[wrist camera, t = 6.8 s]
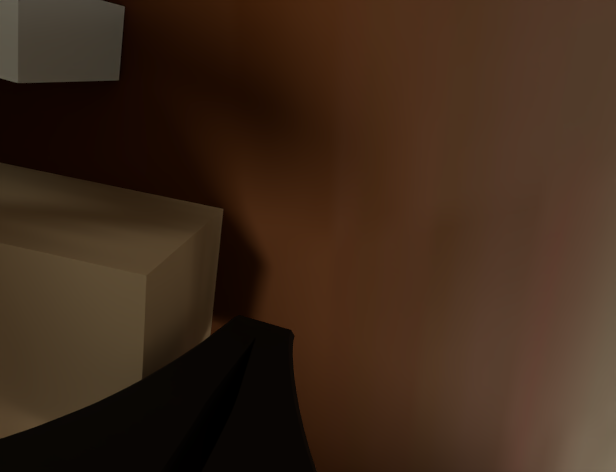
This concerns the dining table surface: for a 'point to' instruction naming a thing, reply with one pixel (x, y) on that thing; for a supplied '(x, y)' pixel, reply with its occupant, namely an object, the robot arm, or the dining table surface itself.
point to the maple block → (95, 290)
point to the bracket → (60, 40)
